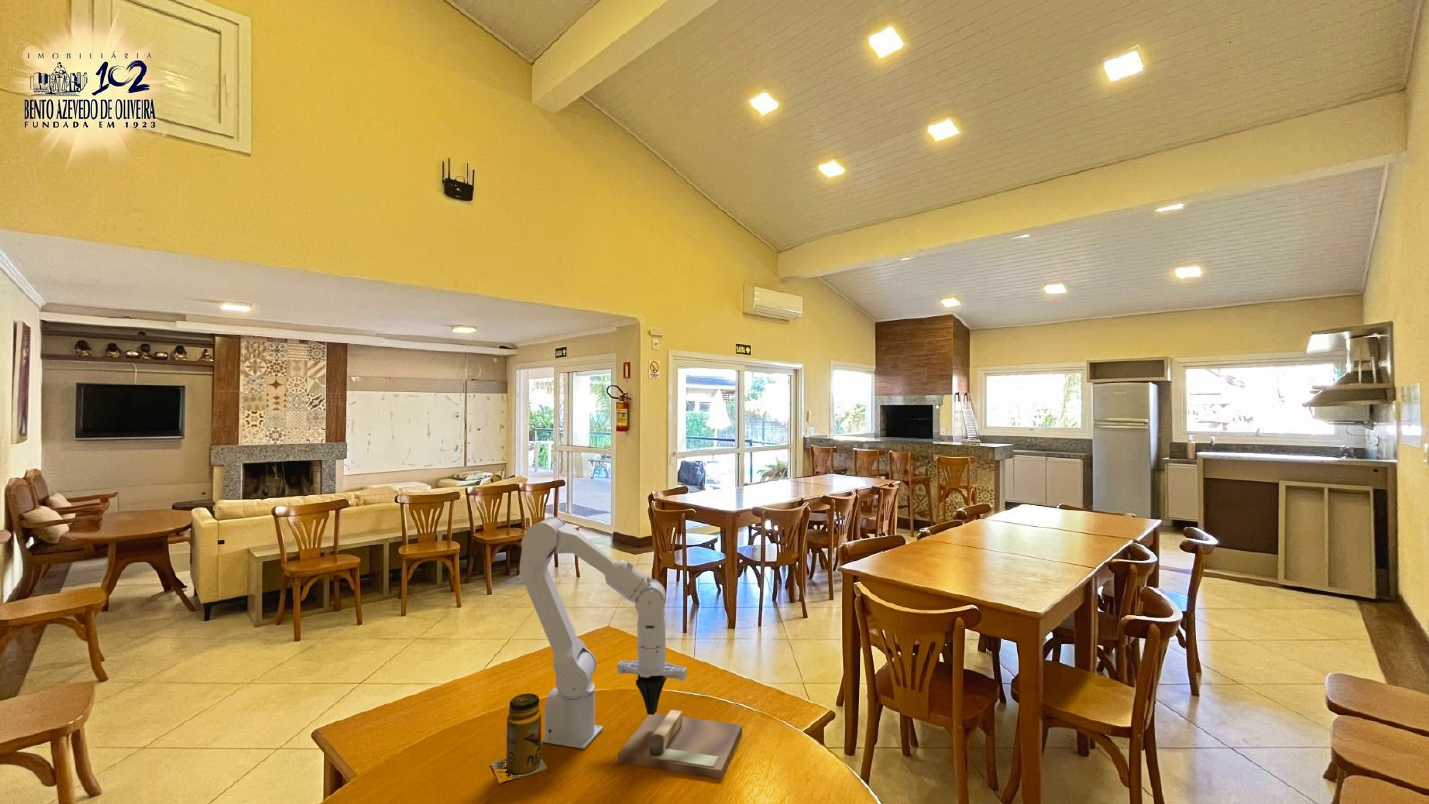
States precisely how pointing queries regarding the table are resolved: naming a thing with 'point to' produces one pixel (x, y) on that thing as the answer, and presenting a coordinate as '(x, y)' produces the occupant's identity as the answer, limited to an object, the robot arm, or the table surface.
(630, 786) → the table surface
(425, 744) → the table surface
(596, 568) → the robot arm
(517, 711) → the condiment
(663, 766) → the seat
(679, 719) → the leg
